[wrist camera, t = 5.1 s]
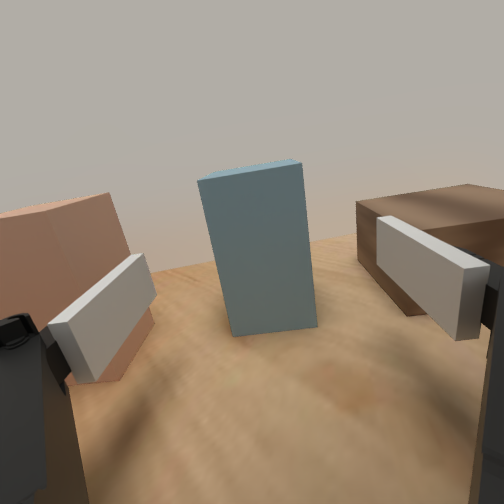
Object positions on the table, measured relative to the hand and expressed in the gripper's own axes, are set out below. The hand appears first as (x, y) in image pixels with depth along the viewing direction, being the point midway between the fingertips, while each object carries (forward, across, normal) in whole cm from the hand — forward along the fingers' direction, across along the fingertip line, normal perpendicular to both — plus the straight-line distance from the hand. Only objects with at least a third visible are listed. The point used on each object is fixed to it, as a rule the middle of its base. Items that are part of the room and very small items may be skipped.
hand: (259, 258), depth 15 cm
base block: (+7, -14, +6) cm, 17 cm away
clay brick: (+2, +13, +6) cm, 15 cm away
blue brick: (+5, 0, +6) cm, 8 cm away
